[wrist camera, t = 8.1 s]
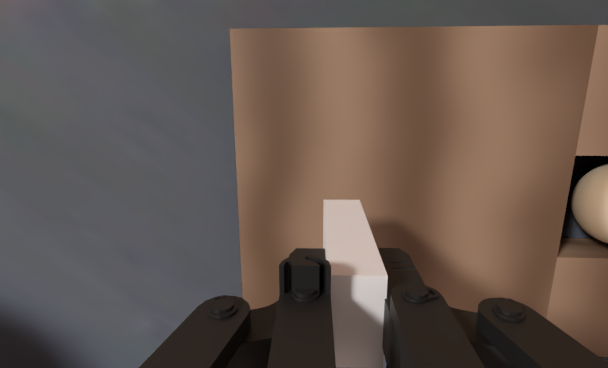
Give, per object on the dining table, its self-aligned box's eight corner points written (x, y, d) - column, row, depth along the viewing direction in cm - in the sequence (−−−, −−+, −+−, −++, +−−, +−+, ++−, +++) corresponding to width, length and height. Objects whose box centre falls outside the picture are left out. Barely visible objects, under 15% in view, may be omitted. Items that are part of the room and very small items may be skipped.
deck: (253, 317, 23) (244, 344, 21) (241, 35, 19) (229, 28, 17) (670, 330, 22) (712, 360, 20) (752, 30, 18) (818, 22, 16)
